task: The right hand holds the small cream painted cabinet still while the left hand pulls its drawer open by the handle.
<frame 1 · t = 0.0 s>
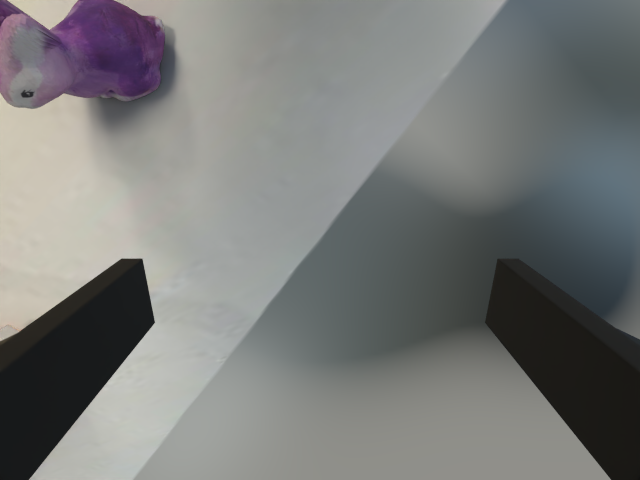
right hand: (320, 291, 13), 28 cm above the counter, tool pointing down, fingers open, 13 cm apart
figurine: (124, 65, 35), on the counter
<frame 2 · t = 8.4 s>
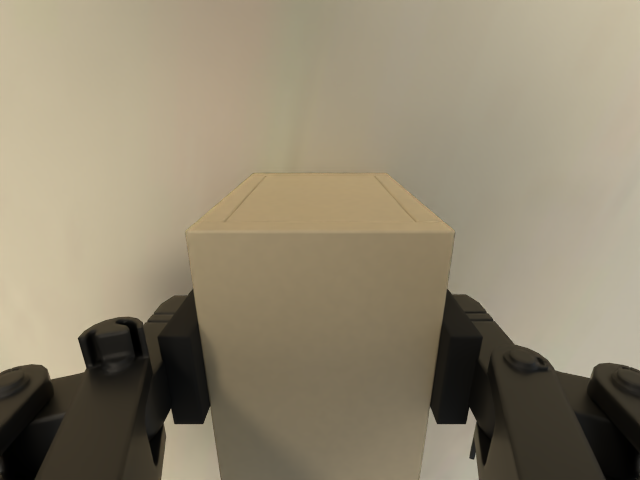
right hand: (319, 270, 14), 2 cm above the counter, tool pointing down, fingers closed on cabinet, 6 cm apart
cabinet: (320, 334, 18), on the counter, touching right hand
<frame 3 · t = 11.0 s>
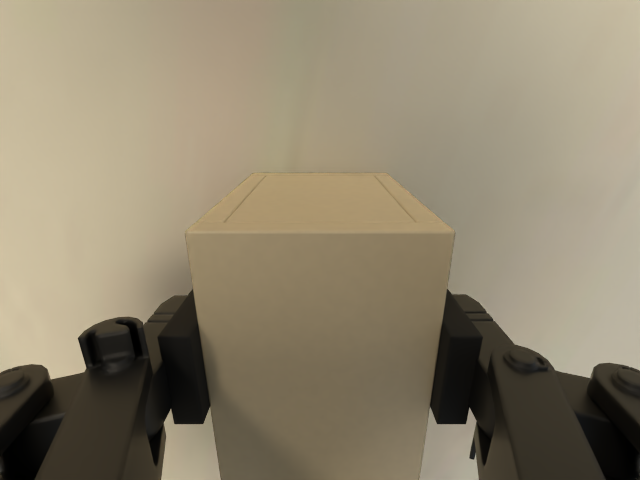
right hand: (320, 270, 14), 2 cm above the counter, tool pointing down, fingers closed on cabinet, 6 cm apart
cabinet: (320, 334, 18), on the counter, touching right hand
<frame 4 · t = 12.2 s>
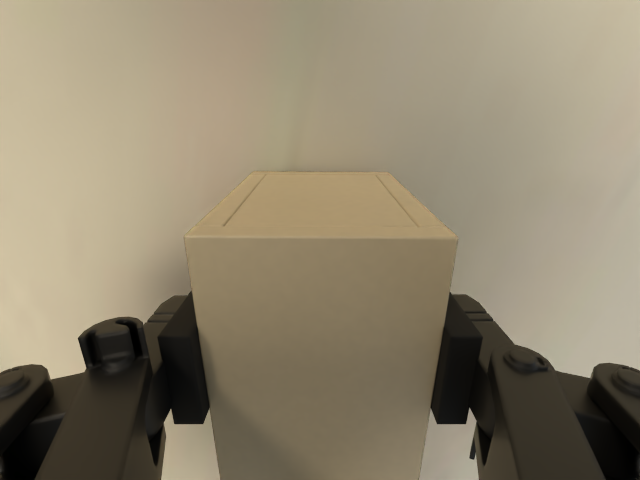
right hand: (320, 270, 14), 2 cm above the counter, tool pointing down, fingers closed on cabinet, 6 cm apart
cabinet: (319, 332, 18), on the counter, touching right hand
when the right hand's fingers open (2 cm above the counter, at t = 14.4 s): cabinet stays where it is, on the counter.
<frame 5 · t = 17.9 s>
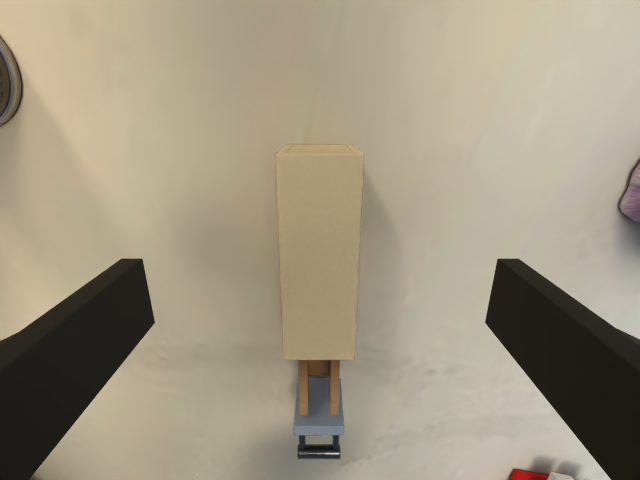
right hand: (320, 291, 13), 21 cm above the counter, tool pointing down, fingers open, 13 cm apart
drawer: (319, 368, 34), point 4 cm above the counter, slide at 8.6 cm
cabinet: (319, 234, 34), on the counter
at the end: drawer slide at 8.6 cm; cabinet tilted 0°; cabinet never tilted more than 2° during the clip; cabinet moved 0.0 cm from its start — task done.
